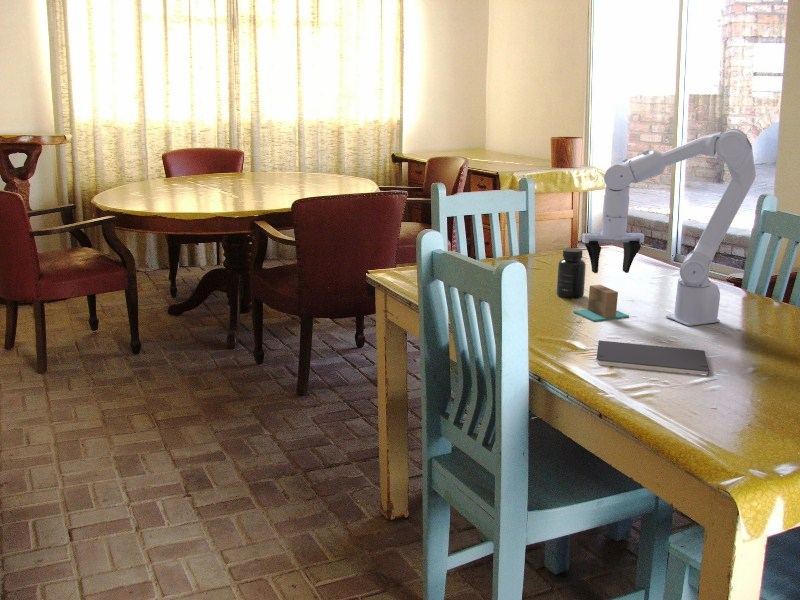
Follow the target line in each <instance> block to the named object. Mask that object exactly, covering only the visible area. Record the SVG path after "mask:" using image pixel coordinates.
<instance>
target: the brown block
mask: <svg viewBox="0 0 800 600" xmlns="http://www.w3.org/2000/svg"><path fill="white" fill-rule="evenodd" d="M588 293H589V294H588V301H587V302H588V304H587V309H588V310H589V311H591V312H593V313H595V314H597V315H599V316H602V317H604V318H610V317H616V310H617V306H618V299H619V298H618V296H619V295H618V294H619V291H617V290H614V289H612V288H609V287H607V286H605V285H602V284H595V285H589V292H588Z"/></svg>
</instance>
